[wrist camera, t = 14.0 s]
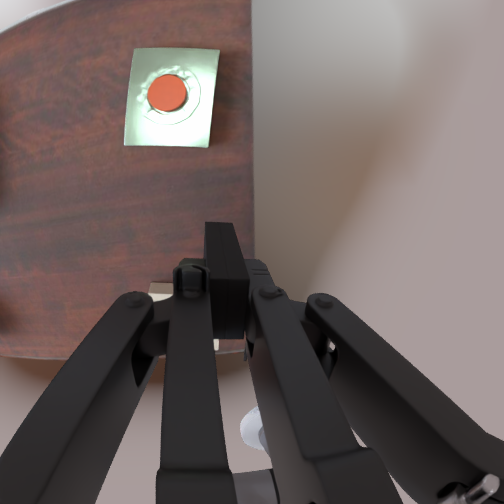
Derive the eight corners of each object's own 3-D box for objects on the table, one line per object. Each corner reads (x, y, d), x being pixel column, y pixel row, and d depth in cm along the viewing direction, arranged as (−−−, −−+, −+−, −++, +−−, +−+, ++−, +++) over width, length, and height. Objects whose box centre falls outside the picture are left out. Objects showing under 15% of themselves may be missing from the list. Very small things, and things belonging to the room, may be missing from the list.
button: (184, 112, 29) (183, 111, 28) (148, 111, 28) (146, 110, 27) (188, 77, 27) (188, 75, 26) (152, 77, 27) (150, 74, 25)
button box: (208, 146, 34) (208, 149, 31) (128, 144, 33) (119, 147, 29) (219, 53, 30) (221, 45, 26) (137, 52, 28) (130, 44, 24)
